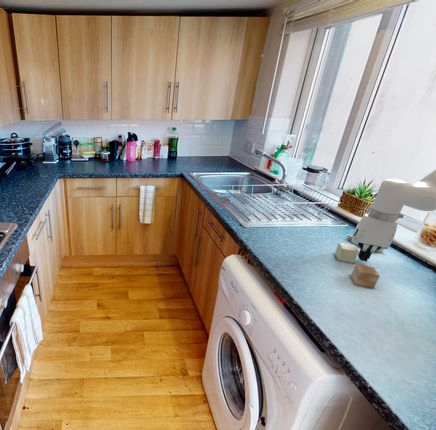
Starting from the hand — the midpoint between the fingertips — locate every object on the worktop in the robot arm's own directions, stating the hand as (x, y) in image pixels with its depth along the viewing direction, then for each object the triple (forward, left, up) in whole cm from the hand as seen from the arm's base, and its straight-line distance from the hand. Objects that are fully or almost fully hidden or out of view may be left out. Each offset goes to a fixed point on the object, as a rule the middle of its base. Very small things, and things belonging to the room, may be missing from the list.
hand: (362, 259), depth 106 cm
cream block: (+5, 0, -1) cm, 5 cm away
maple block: (+4, +15, -1) cm, 16 cm away
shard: (-5, -14, -1) cm, 15 cm away
